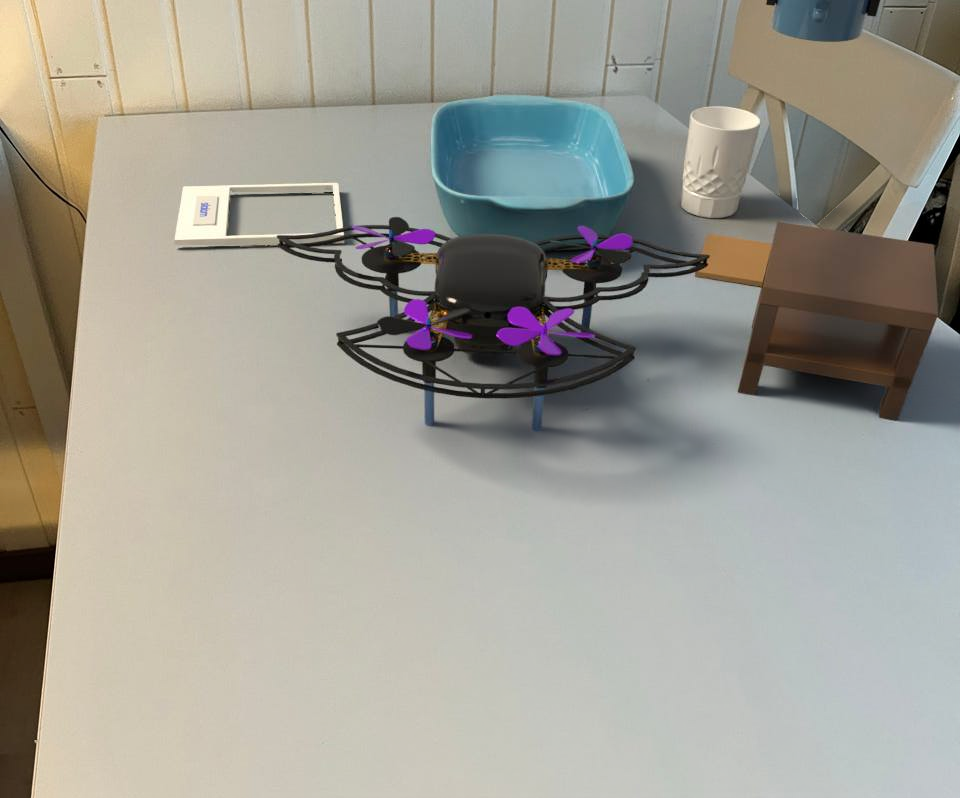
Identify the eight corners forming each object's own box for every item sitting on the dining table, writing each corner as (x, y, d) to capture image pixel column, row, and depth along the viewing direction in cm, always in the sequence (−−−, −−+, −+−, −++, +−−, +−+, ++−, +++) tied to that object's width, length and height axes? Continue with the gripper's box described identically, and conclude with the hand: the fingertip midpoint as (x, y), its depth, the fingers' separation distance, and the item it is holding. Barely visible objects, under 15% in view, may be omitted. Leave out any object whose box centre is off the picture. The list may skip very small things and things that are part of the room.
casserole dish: (431, 146, 130) (431, 86, 125) (600, 149, 131) (606, 90, 126) (429, 272, 104) (429, 203, 99) (639, 275, 105) (649, 207, 100)
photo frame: (183, 184, 115) (337, 181, 118) (184, 194, 116) (338, 190, 118) (174, 238, 105) (343, 233, 107) (176, 248, 106) (344, 243, 108)
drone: (709, 220, 92) (755, 378, 72) (690, 317, 99) (728, 485, 79) (281, 201, 92) (212, 352, 73) (292, 299, 99) (232, 462, 80)
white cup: (729, 193, 122) (747, 105, 115) (750, 220, 116) (770, 129, 109) (667, 195, 121) (682, 106, 114) (685, 221, 115) (702, 130, 108)
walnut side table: (897, 345, 96) (934, 244, 89) (897, 420, 87) (938, 314, 80) (752, 321, 99) (777, 221, 92) (737, 392, 89) (763, 286, 82)
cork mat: (795, 252, 110) (797, 247, 110) (789, 291, 104) (790, 285, 103) (706, 238, 112) (707, 233, 112) (694, 276, 106) (695, 270, 105)
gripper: (758, -364, 71) (698, 4, 87) (1067, -351, 67) (944, 31, 83) (766, -362, 76) (709, -15, 92) (1054, -350, 72) (941, 9, 88)
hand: (821, 6), depth 88 cm, fingers closed on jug, 8 cm apart
